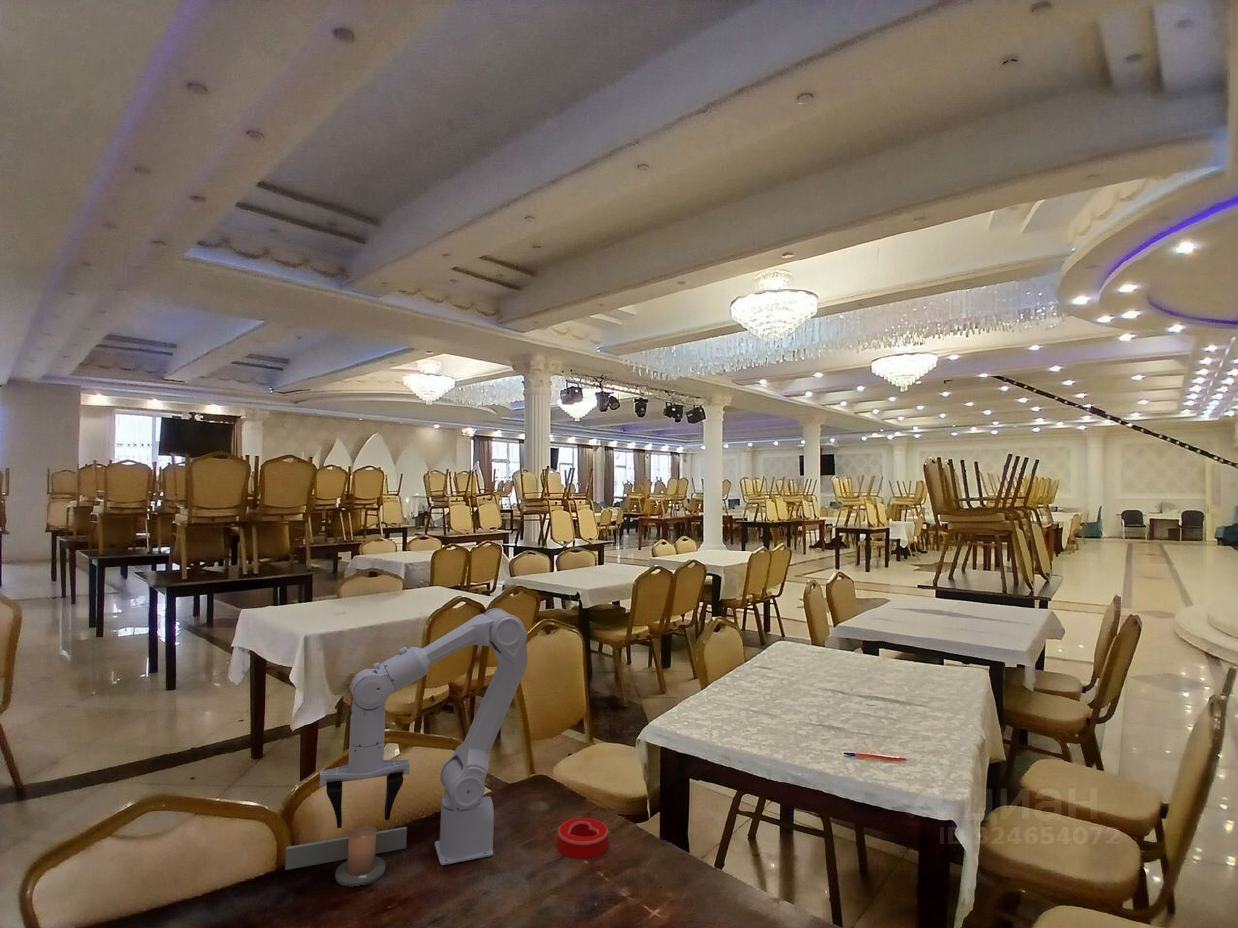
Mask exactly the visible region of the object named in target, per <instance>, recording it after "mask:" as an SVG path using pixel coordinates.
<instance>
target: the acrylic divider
mask: <svg viewBox="0 0 1238 928" xmlns="http://www.w3.org/2000/svg"><path fill="white" fill-rule="evenodd" d="M407 834H408V827H407V826H403V827H396V828H391V829H385V830H384V829H383V830H380V831H376V845H375V855H376V854H381V853H386V852H387V853H388V852H392V851H397V850H399V851H400V850H403V849H407V837H408V836H407ZM348 844H349V836H343V837H337V838H332V839H326V840H320V841H319V840H318V841H314V842H308V843H303V844H301V843H300V844H297V845H290V846H286V849H285V866H284V867H285V868H284V869H285V871H288V870H295V869H299V868H305V867H309V866H310V867H311V866H316V865H321V864H327V863H332V862H337V861H338V862H339V861H344V860H348Z"/></svg>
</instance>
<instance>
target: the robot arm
mask: <svg viewBox="0 0 1238 928" xmlns="http://www.w3.org/2000/svg"><path fill="white" fill-rule="evenodd" d="M526 629H527V628H525V625H524V623H523V622H522V620H521V619H520V618H519V617H518V616H516V615H512V614H511V613H509V612H507V611H505V610H504V609H502V608H498V607H497V608H496V607H495V608H494V607H493V608H490V609H488V610H487V611H485V612H484V613H480V614H478V615H475V616H473V617H472V618H470V619H469V620H467V621H466V622H465V623H463V624H461V625H459V626H458V627H456V628H455V629H453V630H451V631H449V632H448V633H446V634H445V635H443V636H442V637H440V638H438V639H436V640H434V641H432V642H431V643H429V644H428V645H426V646H424V647H423V648H421V647H416V646H411V647H409V648H407V647H406V646H404V647H402V648H400V649H398V651H399V653H398V654H396V655H394V656H392V657H390V658H389V659H388V658H387V659H386V660H385V661H382V662H381V663H380V662H379V661H377V662H376V663H374V664H373V668H364V669H363V670H361V671H359V672H357V674H355V676H354V677H353V678H352V680H351V683H350V685H349V691H350V694H351V695H352V697H353V700H352V704H351V715H350V718H349V719H350V723H349V745H348V746H349V747H348V748H349V749H348V764H345V765H342V766H338V767H335V768H330V769H324V770H320V771H319V772H320V773H319V785H318V787H320V788H322V787H326V788H325V789H326V790H325V791H326V795H327V797H328V800H329V802H330V804H331V805H332V808H333V811H334V815H335V819H336V829H340V828H341V829H342V826H343V825H342V824H343V816H342V815H343V814H342V813H343V809H342V805H343V804H342V803H343V802H342V801H343V783H345V782H352V781H359V780H360V781H361V780H368V779H374V778H381V777H386V786H385V787H386V788H385V791H386V794H385V804H384V821H389V820H390V817H391V812H392V808H393V805H394V803H395V799H396V797H397V795H398V793H399V792H400V790H401V787H402V786H403V783H404V776H406V775H410V771H411V770H410V769H411V762H410V759H385V729H386V712H385V710H386V709H385V708H386V707H385V705H386V704H385V703H386V702H387V701H388V699H389V696H390V695H392V694H395V693H397V692H398V691H400V690H402V689H404V688H406V687H407V686H409V685H411V684H412V683H414V682H416V681H418V680H420V679H422V678H424V677H425V676H427V674H428V673H429V669H430V667H431V666H432V665H433V664H435V663H437V662H439V661H441V660H442V659H445V658H447V657H449V656H451V655H453V654H454V653H457V652H459V651H460V650H463V649H465V648H466V647H469V646H472V645H475V646H484V647H490V645H491V647H492V650H493V652H494V654H495V656H496V658H497V661H498V663H497V666H496V668H495V671H494V673H493V674H492V675H493V676H492V678H491V679H490V682H489V684H488V687H487V688H486V691H485V693H484V695H483V698H482V700H481V702H480V705H479V707H478V709H477V711H476V713H475V716H474V718H473V720H472V723H471V725H470V727H469V729H468V730H467V733H466V737H465V739H464V740H463V742H462V743H461V744H459V745H458V746H457V747H456V748H455V750H454V752H453V754H452V755H451V757H450V758H449V759H447V761H446V762H445V763H443V766H442V768H441V770H440V776H439V777H440V783H441V784H442V787H444V788H445V790H444V793H443V796H442V798H441V806H440V826H439V827H440V828H439V830H440V831H439V840H436V841H434V847H435V850H436V855H437V857H438V862H439V864H440V865H441V866H446V865H451V864H456V863H461V862H466V861H471V860H476V859H482V858H486V857H492V856H493V855H494V825H495V824H494V823H495V822H494V821H495V820H494V819H495V817H494V815H495V814H494V812H495V811H494V803H493V800H492V797H491V796H484V794H485V791H486V784H485V783H486V778H487V775H488V772H489V763H490V762H489V759H490V758H489V757H490V756H489V755H490V753H491V750H492V749H493V746H494V743H495V741H496V739H497V736H498V734H499V732H500V729H501V727H502V725H503V722H504V720H505V717H506V716H507V713H508V710H509V708H510V706H511V704H512V701H513V700H514V697H515V694H516V692H517V690H518V688H519V685H520V683H521V680H522V678H523V676H524V673H525V671H526V669H527V667H528V662H529V661H528V647H527V646H528V644H527V638H528V634H529V633H528V631H527V630H526Z"/></svg>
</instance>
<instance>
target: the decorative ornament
mask: <svg viewBox="0 0 1238 928" xmlns="http://www.w3.org/2000/svg"><path fill="white" fill-rule="evenodd" d="M556 844H557V847H556V848H557V850H558V852H560V854H561V855H563V856H565V857H567V858H571V859H577V860H589V859H593V858H598V857H599V856H602V855H603V854H605V852H607V850H608V848H609V829H608V826H607V825H606V824H605V823H603V822H602V821H601V820H597V819H594V818H590V817H578V818H572V819H569V820H567V821H565V822H563V823H562V824H561V825H560V826H558V829H557V842H556Z"/></svg>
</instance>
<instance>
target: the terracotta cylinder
mask: <svg viewBox="0 0 1238 928" xmlns="http://www.w3.org/2000/svg"><path fill="white" fill-rule="evenodd" d="M376 832H377V829H376V827H374V826H371V825H362V826H358V827H355V828H353V829H351V830H350V831H349V833H348V837H349V844H348V859H347V861H348V863H347V872H348V874H350V875H354V876H358V875H364V874H367V873H369V872H371V871H372V870H373V869H374V865H375V856H376V854H375V845H376Z"/></svg>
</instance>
